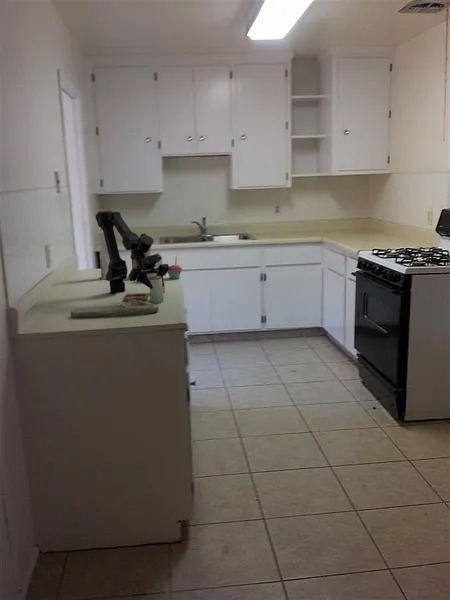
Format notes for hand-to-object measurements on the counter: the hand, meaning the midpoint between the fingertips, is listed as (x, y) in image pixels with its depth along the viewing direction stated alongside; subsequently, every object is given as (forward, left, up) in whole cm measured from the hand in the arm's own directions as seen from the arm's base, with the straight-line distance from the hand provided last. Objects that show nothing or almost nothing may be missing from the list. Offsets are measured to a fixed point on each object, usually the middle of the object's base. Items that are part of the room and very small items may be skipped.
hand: (157, 287), depth 247 cm
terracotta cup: (-1, +19, -7) cm, 21 cm away
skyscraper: (-31, +69, -7) cm, 76 cm away
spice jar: (-1, +1, -7) cm, 7 cm away
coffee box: (-12, +68, -7) cm, 70 cm away
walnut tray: (-10, +8, -7) cm, 15 cm away
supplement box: (-5, +57, -7) cm, 58 cm away
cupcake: (+6, +59, -7) cm, 60 cm away
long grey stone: (-17, -18, -7) cm, 26 cm away
